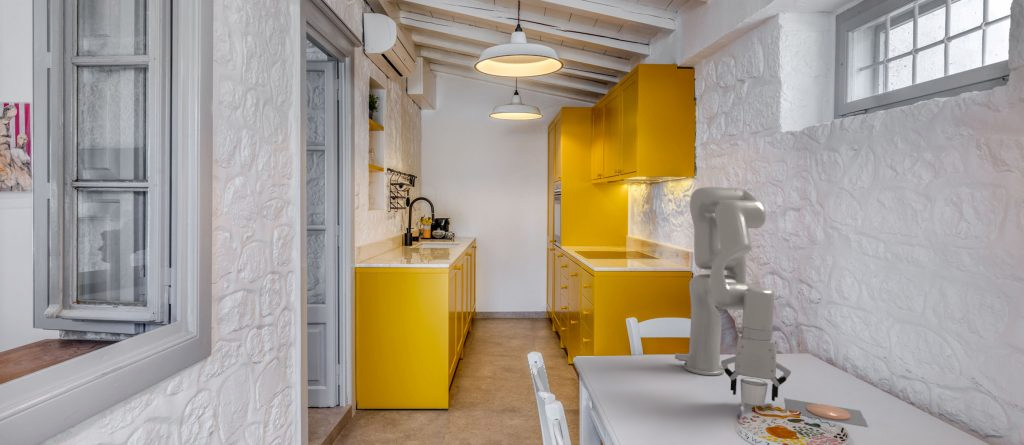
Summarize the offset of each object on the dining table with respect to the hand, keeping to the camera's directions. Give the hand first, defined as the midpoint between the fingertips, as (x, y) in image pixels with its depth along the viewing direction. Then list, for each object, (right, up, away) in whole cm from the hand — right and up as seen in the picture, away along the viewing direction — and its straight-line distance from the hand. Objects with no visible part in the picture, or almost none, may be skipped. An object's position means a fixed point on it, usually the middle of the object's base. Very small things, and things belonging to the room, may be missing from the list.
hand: (753, 396), depth 149 cm
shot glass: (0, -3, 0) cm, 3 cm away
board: (+16, -4, -6) cm, 17 cm away
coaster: (+17, -2, -6) cm, 18 cm away
